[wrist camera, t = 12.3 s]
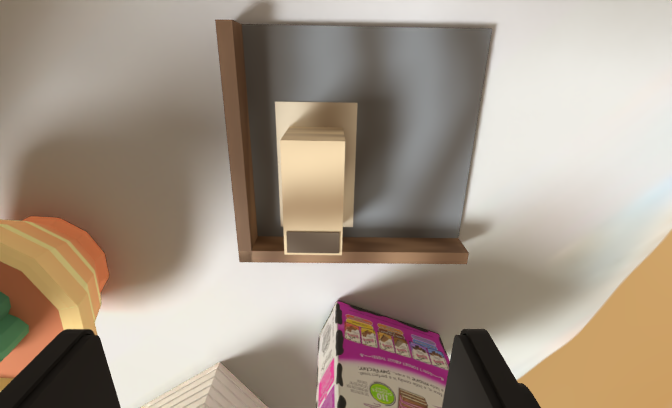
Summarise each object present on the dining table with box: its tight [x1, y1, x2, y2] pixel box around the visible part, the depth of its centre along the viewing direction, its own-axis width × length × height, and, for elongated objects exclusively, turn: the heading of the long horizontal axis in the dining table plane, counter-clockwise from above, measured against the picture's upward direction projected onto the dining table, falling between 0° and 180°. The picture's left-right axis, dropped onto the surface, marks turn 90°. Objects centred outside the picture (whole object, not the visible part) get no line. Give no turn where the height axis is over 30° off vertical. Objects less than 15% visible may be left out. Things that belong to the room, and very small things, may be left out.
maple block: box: [280, 127, 345, 255], centre depth 25 cm, size 8×4×5 cm, turn 179°
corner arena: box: [215, 20, 492, 264], centre depth 26 cm, size 18×17×3 cm
